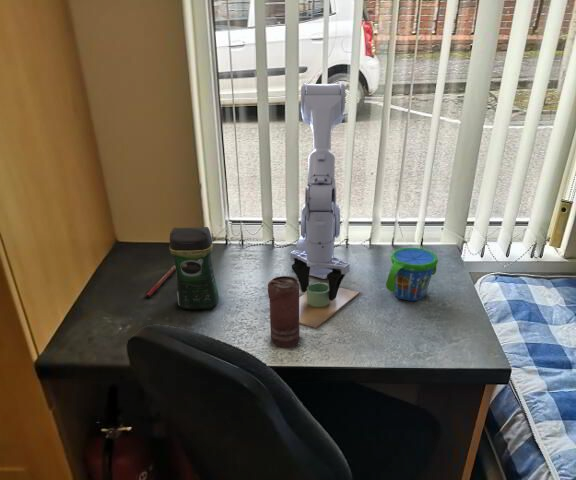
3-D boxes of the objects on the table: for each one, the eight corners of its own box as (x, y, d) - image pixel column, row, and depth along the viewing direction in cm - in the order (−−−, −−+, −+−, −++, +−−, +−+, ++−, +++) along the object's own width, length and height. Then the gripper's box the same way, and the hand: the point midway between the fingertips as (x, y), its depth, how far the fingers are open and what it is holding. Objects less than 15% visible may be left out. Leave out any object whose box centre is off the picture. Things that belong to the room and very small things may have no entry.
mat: (275, 315, 132) (275, 314, 131) (320, 283, 145) (320, 281, 145) (316, 328, 126) (316, 327, 126) (358, 293, 140) (359, 292, 140)
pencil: (149, 298, 139) (148, 294, 139) (145, 298, 140) (144, 294, 139) (179, 266, 154) (178, 262, 154) (175, 265, 154) (175, 262, 154)
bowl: (302, 304, 135) (302, 289, 132) (314, 295, 138) (315, 280, 136) (322, 310, 132) (322, 295, 130) (334, 301, 136) (335, 286, 134)
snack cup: (417, 279, 146) (422, 241, 140) (448, 294, 139) (455, 255, 133) (370, 295, 139) (373, 256, 133) (400, 312, 132) (405, 271, 126)
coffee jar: (220, 295, 140) (213, 221, 129) (217, 311, 134) (209, 234, 123) (181, 296, 140) (170, 222, 129) (175, 311, 134) (164, 235, 123)
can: (268, 334, 125) (266, 275, 117) (297, 332, 125) (297, 274, 117) (270, 349, 120) (268, 289, 112) (300, 347, 120) (300, 287, 112)
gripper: (282, 238, 127) (283, 293, 135) (339, 252, 120) (336, 309, 128) (299, 228, 132) (299, 282, 140) (355, 241, 125) (352, 297, 133)
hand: (318, 294), depth 134 cm, fingers open, 7 cm apart
